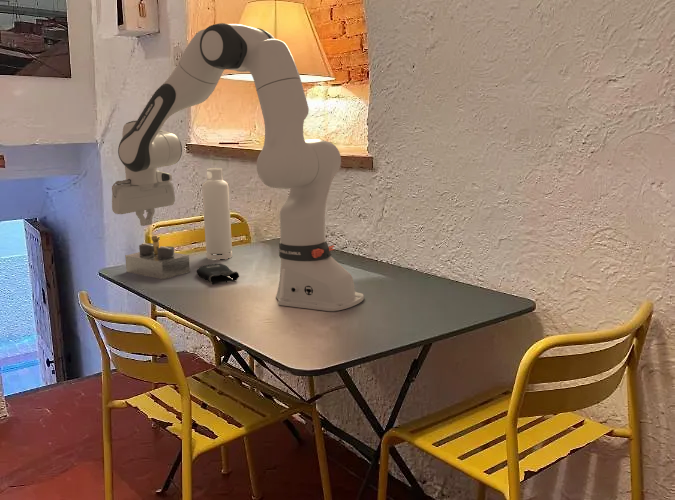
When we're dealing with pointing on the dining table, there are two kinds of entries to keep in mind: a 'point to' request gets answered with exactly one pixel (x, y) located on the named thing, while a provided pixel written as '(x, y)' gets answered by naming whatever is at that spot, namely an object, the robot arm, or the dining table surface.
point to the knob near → (165, 252)
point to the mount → (157, 265)
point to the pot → (155, 244)
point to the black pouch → (215, 272)
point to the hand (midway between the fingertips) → (146, 225)
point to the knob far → (146, 249)
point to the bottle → (217, 215)
